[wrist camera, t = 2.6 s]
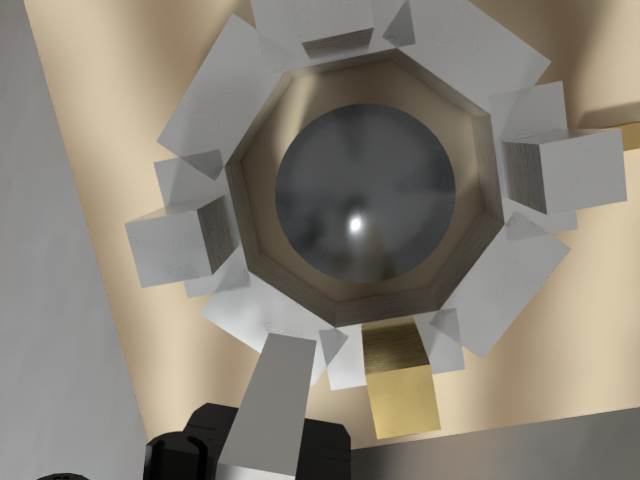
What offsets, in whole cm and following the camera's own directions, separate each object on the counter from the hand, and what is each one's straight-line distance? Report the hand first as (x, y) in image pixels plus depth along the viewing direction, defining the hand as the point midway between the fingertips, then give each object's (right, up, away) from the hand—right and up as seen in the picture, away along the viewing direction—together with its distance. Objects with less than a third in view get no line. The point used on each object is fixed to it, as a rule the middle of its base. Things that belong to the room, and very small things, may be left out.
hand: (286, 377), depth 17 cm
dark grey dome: (+3, +7, +6) cm, 9 cm away
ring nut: (+3, +6, +6) cm, 9 cm away
